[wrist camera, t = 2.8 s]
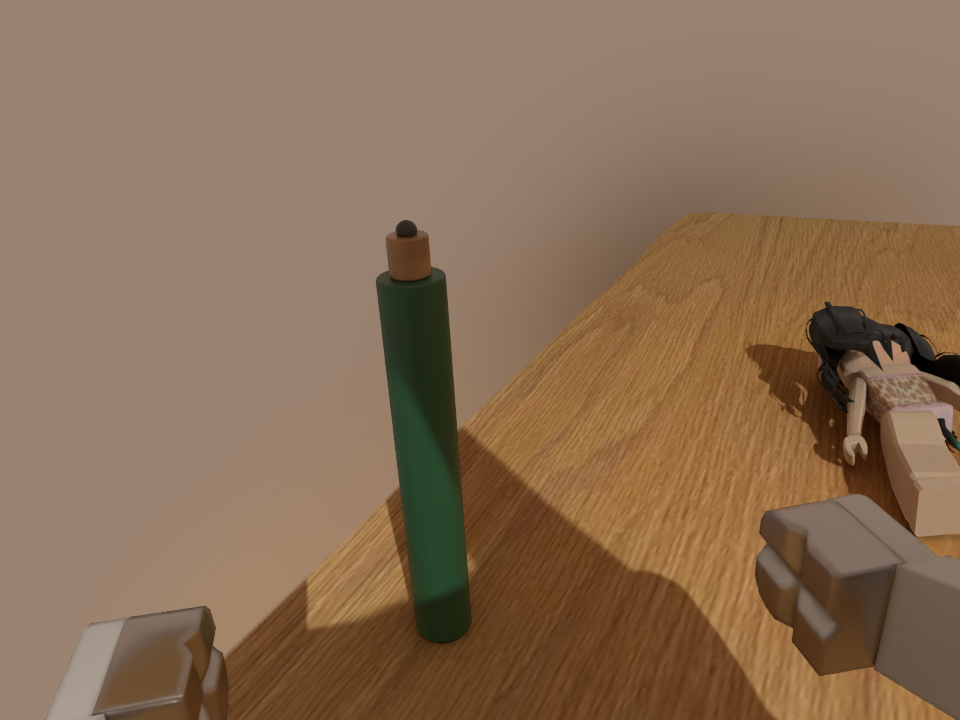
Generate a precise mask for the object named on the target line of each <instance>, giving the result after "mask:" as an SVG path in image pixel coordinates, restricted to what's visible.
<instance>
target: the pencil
mask: <svg viewBox="0 0 960 720" xmlns="http://www.w3.org/2000/svg"><path fill="white" fill-rule="evenodd" d="M386 248H387V257H388V265H389V271H386V272H384V273H382V274H380V275H379V276H378V277H377V280H376V286H377V294H378V304H379V312H380V320H381V329H382V338H383V347H384V355H385V364H386V372H387V380H388V389H389V398H390V407H391V415H392V423H393V433H394V441H395V450H396V458H397V467H398V475H399V484H400V493H401V502H402V510H403V519H404V527H405V536H406V545H407V553H408V562H409V570H410V579H411V588H412V596H413V605H414V613H415V622H416V628H417V630H418V632H419V633H420V634H421V635H422V636H423V637H424V638H426V639H428V640H430V641H433V642H449V641H452V640H455V639H457V638H459V637H461V636H462V635H463V634H465V633H466V631H467V630H468V629H469V627H470V624H471V606H470V593H469V580H468V566H467V553H466V540H465V526H464V513H463V500H462V486H461V473H460V460H459V446H458V433H457V420H456V407H455V394H454V380H453V366H452V353H451V340H450V327H449V313H448V300H447V286H446V275H445V273H444V272H443V271H442V270H440V269H438V268H433V267H431V263H430V262H431V261H430V250H429V238H428V234H427V233H426V232H424V231H420V230H417V227H416V225H415V224H414V223H413V222H411V221H408V220H404V221H401V222H400V223H399V224H398V225H397V227H396V232H394V233H391V234H389V235H387V236H386Z"/></svg>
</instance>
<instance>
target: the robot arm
mask: <svg viewBox="0 0 960 720" xmlns="http://www.w3.org/2000/svg"><path fill="white" fill-rule="evenodd" d="M759 534H760V535H761V536H762V537H763V539H764V540H765V541H766V542H767V544H766V546H765V547H764V548H763V549H762V551H761V552H760V553H759V554H758V556H757V557H756V569H755V577H756V582H757V586H758V591H759V594H760V596H761V598H762V600H763V602H764V604H765V607H766V608H767V609H768V611H769V612H770V613H771V615H772V616H773V617H774V619H776V620H778V621H780V622H782V623H784V624H785V625H787V626H789V627H791V628H793V635H792V642H793V643H794V645H795V646H796V647H797V649H798V650H799V651H800V652H801V654H802V655H803V656H804V658H805V659H806V660H807V661H808V663H809V664H810V665H811V667H812V668H813V669H814V670H815V672H816V673H817V674H818V676H823V675H829V674H835V673H840V672H846V671H852V670H857V669H863V668H869V667H874V666H875V668H874V670H876V671H878V672H879V673H881V674H882V675H884V676H886V677H887V678H889V679H891V680H892V681H894V682H895V683H897V684H899V685H900V686H902V687H904V688H905V689H907V690H908V691H910V692H912V693H913V694H915V695H917V696H918V697H920V698H921V699H923V700H925V701H926V702H928V703H930V704H931V705H933V706H934V707H936V708H938V709H939V710H941V711H943V712H944V713H946V714H947V715H949V716H951V717H952V718H954V719H956V720H960V559H957V558H954V557H951V556H944V557H939V556H937V555H936V554H935V553H934V552H933V551H931V550H930V549H929V548H928V547H927V546H926V545H924V544H923V543H922V542H921V541H920V540H918V539H917V538H916V537H915V536H914V535H912V534H911V533H910V532H909V531H908V530H907V529H905V528H904V527H903V526H902V525H901V524H899V523H898V522H897V521H896V520H895V519H893V518H892V517H891V516H890V515H889V514H888V513H886V512H885V511H884V510H883V509H882V508H880V507H879V506H878V505H877V504H876V503H874V502H873V501H872V500H871V499H870V498H869V497H867V496H864V495H861V494H858V493H856V494H851V495H846V496H841V497H836V498H831V499H827V500H826V501H819V502H813V503H807V504H802V505H796V506H790V507H785V508H779V509H773V510H768V511H766V512H765V514H764V515H763V517H762V519H761V524H760V532H759ZM215 629H216V627H215V624H214V620H213V617H212V614H211V611H210V609H209V608H207V607H206V606H201V607H194V608H188V609H181V610H174V611H167V612H161V613H154V614H147V615H140V616H133V617H130V618H124V619H117V620H111V621H105V622H97V623H91V624H90V625H89V626H87V627H86V628H85V629H84V630H83V631H82V633H81V635H80V638H79V640H78V642H77V645H76V647H75V649H74V652H73V654H72V657H71V659H70V661H69V664H68V666H67V668H66V671H65V673H64V676H63V678H62V680H61V683H60V685H59V688H58V690H57V693H56V695H55V697H54V699H53V702H52V704H51V706H50V709H49V711H48V714H47V716H46V718H45V720H227V713H228V678H227V670H226V665H225V661H224V657H223V653H222V652H220V651H219V650H217V649H216V648H215V647H213V641H214V636H215Z"/></svg>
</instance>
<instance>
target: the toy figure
mask: <svg viewBox="0 0 960 720" xmlns="http://www.w3.org/2000/svg"><path fill="white" fill-rule="evenodd" d="M825 305H826V307H827V308H824V309H822V310H820V311H817V312H815V313H814V314H813V318H812V319H810V320H809V321H811V320H812V321H811V324H810V327H809V333H810V338H811V341H812V342H811V341H810V339H809V338H808V336H807V339H808V341H809V342H810V343H811V345H812V346H813V348H814V349H815V350H816V352H817V353H818V373H819V372H820V371H823V372H822V373H821V380H822V383H821V382H820V381H819V379H818V373H817V379H818V381H819V383H820V384H821V385H822V386H823V387H824V389H825V390H826V392H827V393H828V394H829V395H830V397H831V398H832V399H833V401H834V402H835V403H836V404H837V405H838V406H839V408H840V409H841V410H843V411H845V412H846V413H847V437H846V438H845V439H844V441H843V454H844V458H845V459H846V461H847V462H848V463H849V464H850V465H852V466H853V465H855V453H857V452H859V453H860V454H861V456H862V457H863V459H864V461H865V460H867V453H868V448H867V443H866V441H865V439H864V438H863V437H861V432H862V426H863V420H864V414H865V410H866V411H867V412H868V413H869V414H870V415H871V416H872V417H874V418H875V419H876V420H877V421H878V422H879V423H880V424H881V432H880V435H881V447H882V452H883V456H884V460H885V464H886V468H887V472H888V477H889V481H890V483H891V487H892V490H893V492H894V494H895V497H896V499H897V501H898V504H899V506H900V508H901V511H902V513H903V515H904V518H905V520H906V521H907V522H908V523H909V527H910V528H911V530H912V531H913V533H914V534H915V535H916V536H917V537H922V536H935V535H948V534H960V468H959V466H958V464H957V463H956V461H955V460H954V458H953V456H952V455H951V453H950V452H949V450H948V448H947V446H946V443H945V440H948V441H949V442H950V443H951V444H952V445H953V446H954V447H955V448H956V449H957V450H959V451H960V443H959V442H958V440H957V439H956V438H958V437H956V436H954V433H955V432H953V431H952V420H953V408H954V409H956V410H958V411H959V412H960V355H958V354H956V353H954V354H956V355H943V356H942V357H939V359H937V360H936V357H938V356H940V355H942V354H944V353H945V352H944V353H939V354H937V355H936V356H935V355H934V352H933V350H932V347H931V346H930V345H929V343H928V342H927V341H926V340H925V339H924V338H923V337H926V336H924V335H921V334H918V333H917V332H916V331H915V330H913V329H912V328H910V327H907V326H905V325H904V324H901V323H898V324H896V325H895V326H891V325H885V324H879V323H877V322H875V321H873V320H871V319H869V318H867V317H866V315H865V313H864V312H863V310H862V309H856V308H853V307H847V306H832V305H831V304H830V303H829V302H825ZM828 306H829V307H828ZM859 310H860V311H861V312H862V313H863V315H864V316H862V315H860V311H859ZM809 321H808V323H809ZM808 323H807V324H808ZM806 326H807V325H806ZM806 335H807V330H806ZM922 336H923V337H922ZM926 338H927V337H926ZM927 339H929V338H927ZM929 340H930V339H929ZM931 343H932V342H931ZM932 344H933V343H932ZM934 347H935V346H934ZM935 348H936V347H935ZM936 351H937V350H936ZM937 353H938V352H937ZM946 353H950V352H946ZM838 384H840V385H843V386H845V387H846V388H847V389H848V390H849V395H848V397H847V396H846V395H845V392H844V391H843V390H842V389H841V388H840V387H839V385H838ZM835 386H836V387H835ZM837 386H838V387H839V388H840V389H841V390H842V391H841V390H840V389H839V388H838V387H837ZM836 388H838V389H839V390H840V391H841V392H842V393H840V392H838V391H837V390H836ZM843 402H847V406H846V405H845V404H844V403H843Z"/></svg>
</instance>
